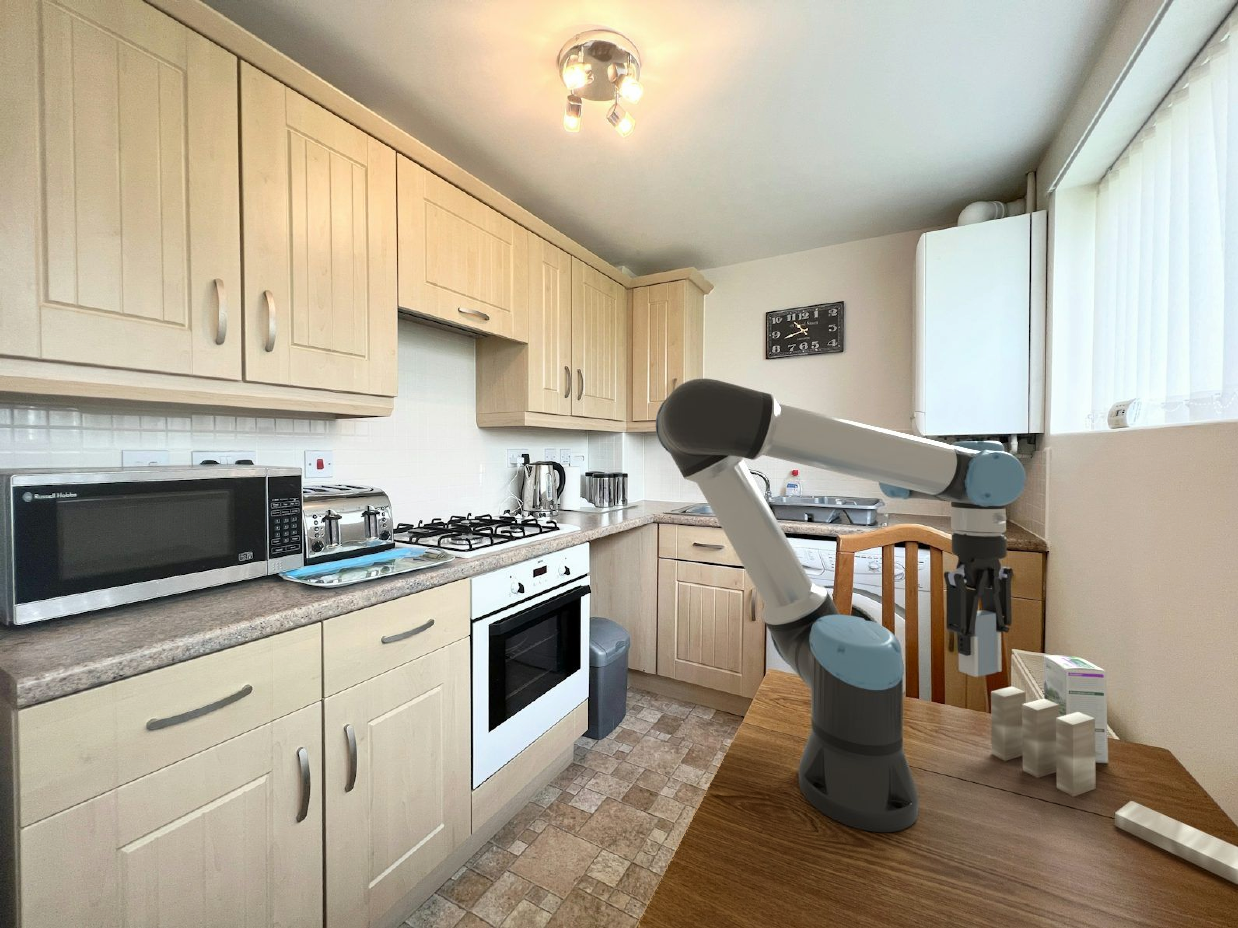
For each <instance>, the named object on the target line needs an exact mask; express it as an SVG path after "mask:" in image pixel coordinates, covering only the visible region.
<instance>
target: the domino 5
mask: <svg viewBox="0 0 1238 928" xmlns="http://www.w3.org/2000/svg"><path fill="white" fill-rule="evenodd" d="M1114 826H1115V827H1117V828H1119V829H1122V830H1123V831H1125V832H1127V833H1129V834H1132V835H1134V837H1135V836H1136V837H1138V838H1140V839H1142V840H1144V841H1145V842H1147V843H1148V842H1149V843H1151V844H1153V845H1155V846H1156V847H1159V848H1161V849H1163V850H1165V851H1168V852H1170V853H1171V854H1173V855H1176V856H1177V857H1179V858H1182V859H1184V860H1186V861H1187V862H1190V863H1192V864H1193V865H1197V866H1198V867H1201V868H1202V869H1205V870H1207V871H1209V872H1211V873H1213V874H1215V875H1217V876H1220V877H1221V878H1222V879H1223V878H1224V879H1226V880H1228V881H1230V882H1232V883H1234V884H1236V885H1238V846H1236V845H1235V844H1231V843H1229V842H1227V841H1225V840H1223V839H1220V838H1218V837H1216V836H1213V835H1211V834H1208V833H1206V832H1204V831H1202V830H1200V829H1197V828H1195V827H1193V826H1190V825H1188V824H1186V823H1183V822H1181V821H1178V820H1177V819H1174V818H1173V817H1169V816H1167V815H1165V814H1163V813H1161V812H1158V811H1156V810H1153V809H1151V808H1149V807H1148V806H1144V805H1142V804H1140V803H1138V802H1135V801H1132V800H1130V801H1129V802H1127V803H1126V804H1125V805H1123V806H1122V807H1121V808H1119V809H1118V810H1117V811H1116V812H1114Z"/></svg>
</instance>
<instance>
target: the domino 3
mask: <svg viewBox="0 0 1238 928" xmlns="http://www.w3.org/2000/svg"><path fill="white" fill-rule="evenodd" d="M1058 717H1059V704H1056V703H1054V702H1051V701H1049V700H1046V699H1044V698H1041V699H1037V700H1033V701H1029V702H1026V703H1025V704H1022V732H1023V755H1022V771H1023V772H1025V773H1027V774H1030V775H1031V776H1032V777H1035V778H1037V779H1039V778H1042V777H1044V776H1049V775H1050V774H1054V773H1057V764H1056V718H1058Z"/></svg>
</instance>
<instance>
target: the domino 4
mask: <svg viewBox="0 0 1238 928" xmlns="http://www.w3.org/2000/svg"><path fill="white" fill-rule="evenodd" d="M1056 764H1057V772H1056V788H1057V789H1058V790H1059V791H1062V792H1063V793H1066V794H1067V795H1069V796H1071V797H1074V798H1075V797H1076V796H1079V795H1081V794H1084V793H1086V792H1087V793H1088V792H1090V791H1093V790H1094V789H1096V762H1095V718H1093V717H1090V716H1088V715H1085V714H1082V713H1080V712H1076V713H1072V714H1068V715H1065V716H1061V717H1058V718H1056Z"/></svg>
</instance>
